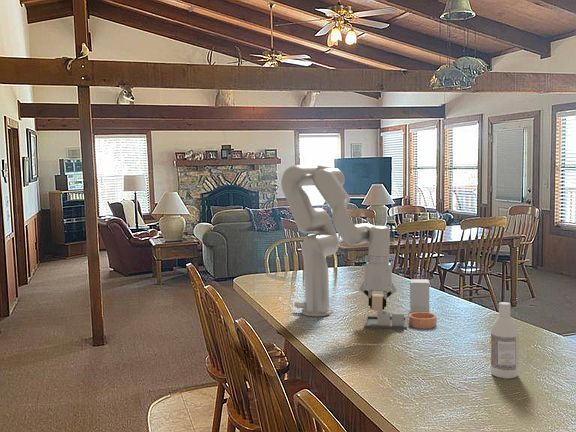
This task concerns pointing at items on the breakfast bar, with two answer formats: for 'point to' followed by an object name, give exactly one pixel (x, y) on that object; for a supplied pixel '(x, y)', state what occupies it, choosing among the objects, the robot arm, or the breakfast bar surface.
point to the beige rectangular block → (377, 302)
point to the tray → (372, 323)
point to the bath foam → (504, 344)
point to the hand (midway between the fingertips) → (377, 307)
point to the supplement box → (419, 295)
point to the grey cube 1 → (383, 318)
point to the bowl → (422, 320)
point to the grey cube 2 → (397, 318)
